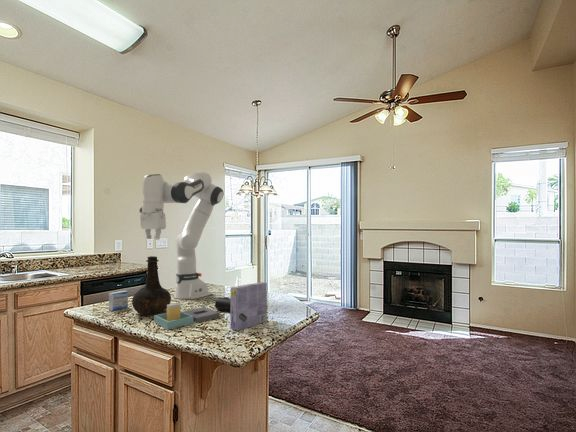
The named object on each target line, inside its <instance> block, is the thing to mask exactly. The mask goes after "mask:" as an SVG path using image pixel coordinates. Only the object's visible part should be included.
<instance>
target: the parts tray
mask: <svg viewBox="0 0 576 432" xmlns="http://www.w3.org/2000/svg"><path fill="white" fill-rule="evenodd" d="M153 323H155V324H156V325H158V326H159V327H162V328H164V329H165V330H173V329H176V328H180V327H184V326H188V325H192V324H194V322H193V316H191V315H189V314H186V313H184V312H183V311H181V310H180V319H177V320H173V321H167V312H165V313H159V314H155V315H153Z"/></svg>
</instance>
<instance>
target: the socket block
mask: <svg viewBox="0 0 576 432" xmlns="http://www.w3.org/2000/svg"><path fill="white" fill-rule="evenodd" d="M182 312H184V313H186V314H189V315H191V316H193V323H195V324H197V323H201V322H205V321H210V320H214V319H218V318H220V312H218V311H216V310H214V309H210V308H207V307H205V306H204V307H198V308H193V309H188V310H185V311H182Z"/></svg>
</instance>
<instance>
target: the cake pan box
mask: <svg viewBox="0 0 576 432" xmlns="http://www.w3.org/2000/svg"><path fill="white" fill-rule="evenodd" d="M267 285H268V283H267V282H264V281H260V282H255V283H248V284H243V285H236V286H231V287H230V299H231V312H230V330H234V331H236V332H239V331H242V330H245V329H247V328H251V327H254V326H257V325H259V324H263V323H265V322H266V323H267V321H268V314H267V313H268V305H267V304H268V301H267V300H268V299H267V298H268V295H267V293H268V290H267V289H268V288H267V287H268V286H267Z"/></svg>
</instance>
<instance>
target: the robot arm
mask: <svg viewBox="0 0 576 432" xmlns="http://www.w3.org/2000/svg"><path fill="white" fill-rule="evenodd" d="M142 195H143V199H142V206H141V207H140V208H139V210H138V211H139V214H140V216H139V217H140V218H139V220H140V228H141V229H142V230H144V232H145V237H146V239H147V240H151V239H152V234H151V232H152V231H151V230H154V232H155V235H154V240H160V238H161V233H162V230H165V229H166V227H167V222H166V219H167V217H166V213H165V212H164V206H165V205H164V204H187V203H188V202H189V201H190V200H191V199H192V197H196V198H198V200H197V201H196V203H195V205H194V207H193V209H192V210H191V212H190V214H189V216H188V218H187V220H186V223H185V225H184V227H183V230H182V232H180V233H179V234H178V235H177V236H176V240H175V242H176V243H175V245H176V246H175V248H176V260H177V261H176V275H175V282H176V284H175V285H176V286H175V291H174V292H175V293H174V296H173V298H175V299H177V300H178V299H180V300H186V299H187V300H188V299H190V300H195V299H198V298H199V299H200V298H202V297H203V298H204V297H207V296H211V295H213V292H212V291H211V290H209V285H208V284H207V283H206V282H205V281H203V280H202V279H201V278H199V277H202V276H203V274H202V273H200V272H197V255H196V248H197V246H198V244H199V241H200V239H201V237H202V234H203V231H204V229H205V227H206V224H207V222H208V221H209V218H210V217H211V214H212V213H213V210H214V206H215V205H217V204H220V202H221V201H222V200H223V198H224V195H225V194H224V190H223V189H222V188H221V187H220V186H217V185H215V184H213V183H212V177H211V175H210V174H209V173H207V172H204V171H198V172H193V173H190V174H188V175H186V176H184V178H183V181H181V182H169V183H168V182H167V181H165V179H164V178H163V174H160V173H155V174H147V175H144V177H143V182H142Z"/></svg>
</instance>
